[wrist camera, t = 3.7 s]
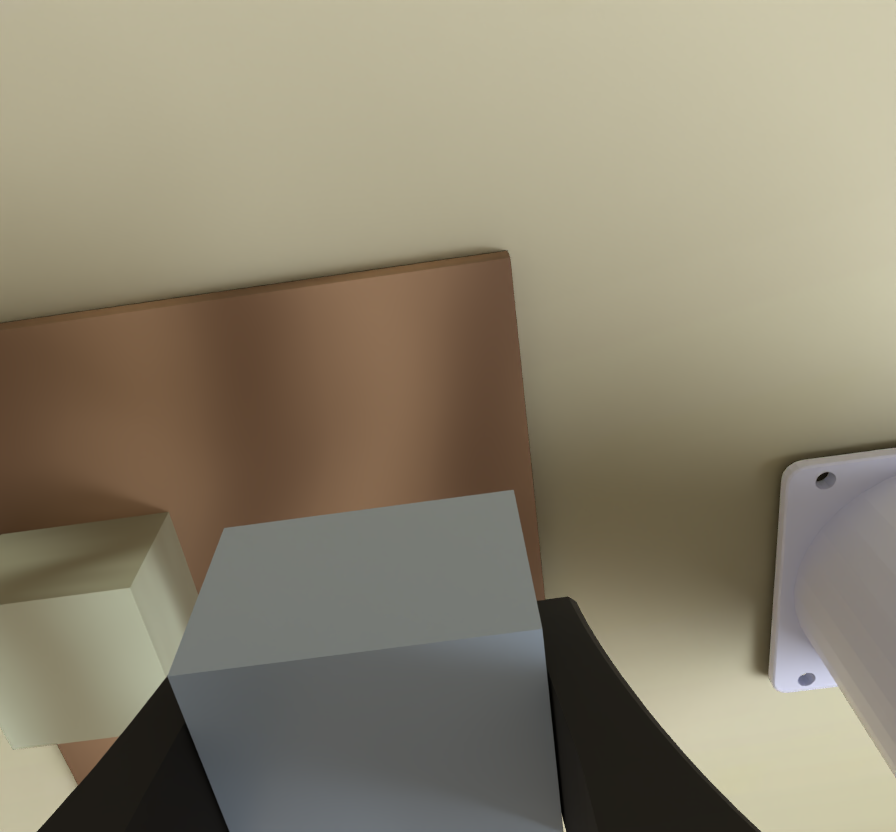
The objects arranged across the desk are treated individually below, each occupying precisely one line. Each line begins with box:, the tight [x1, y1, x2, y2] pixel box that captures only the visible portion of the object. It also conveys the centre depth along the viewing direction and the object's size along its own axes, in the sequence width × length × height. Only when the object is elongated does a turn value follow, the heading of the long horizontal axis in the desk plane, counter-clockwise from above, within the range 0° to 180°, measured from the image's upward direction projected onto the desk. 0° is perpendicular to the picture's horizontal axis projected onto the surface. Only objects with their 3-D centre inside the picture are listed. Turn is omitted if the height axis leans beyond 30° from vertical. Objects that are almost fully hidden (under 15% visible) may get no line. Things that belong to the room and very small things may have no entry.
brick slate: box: [167, 490, 563, 832], centre depth 11 cm, size 4×4×3 cm
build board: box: [0, 251, 545, 785], centre depth 20 cm, size 15×16×4 cm
